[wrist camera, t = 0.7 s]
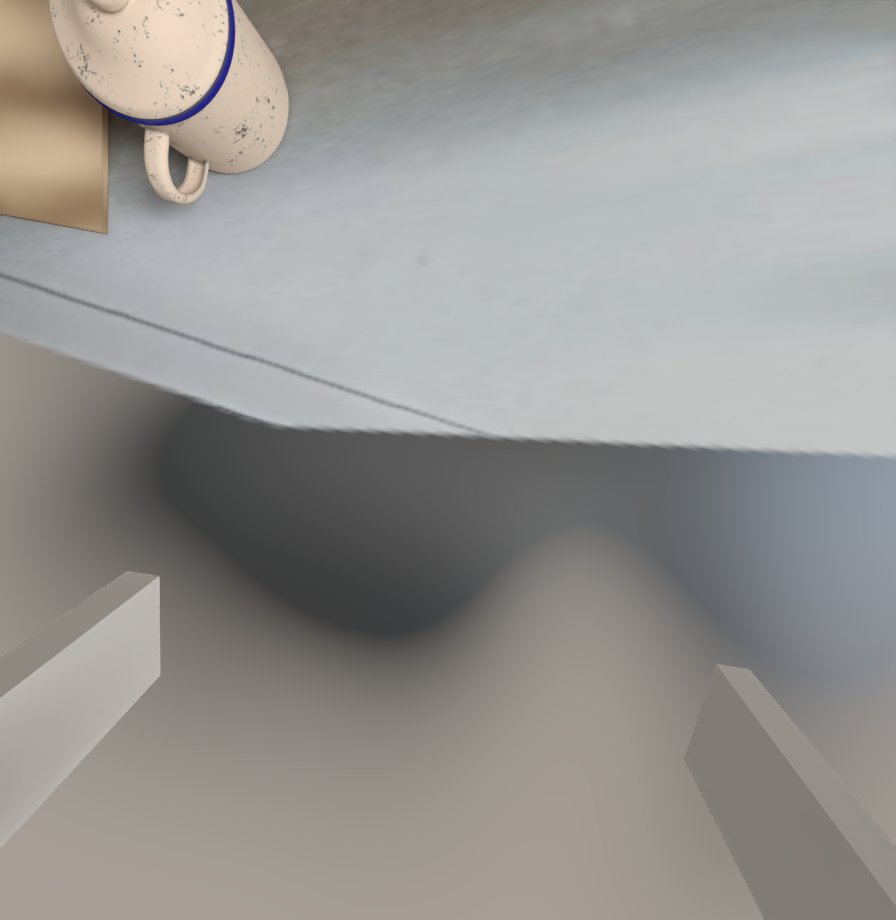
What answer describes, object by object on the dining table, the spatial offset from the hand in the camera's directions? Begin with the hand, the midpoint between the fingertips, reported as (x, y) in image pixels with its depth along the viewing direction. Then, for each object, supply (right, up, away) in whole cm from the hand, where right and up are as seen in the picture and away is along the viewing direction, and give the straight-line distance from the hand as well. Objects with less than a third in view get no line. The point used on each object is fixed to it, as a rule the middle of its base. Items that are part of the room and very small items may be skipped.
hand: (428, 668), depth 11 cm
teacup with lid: (-15, +27, +21) cm, 38 cm away
